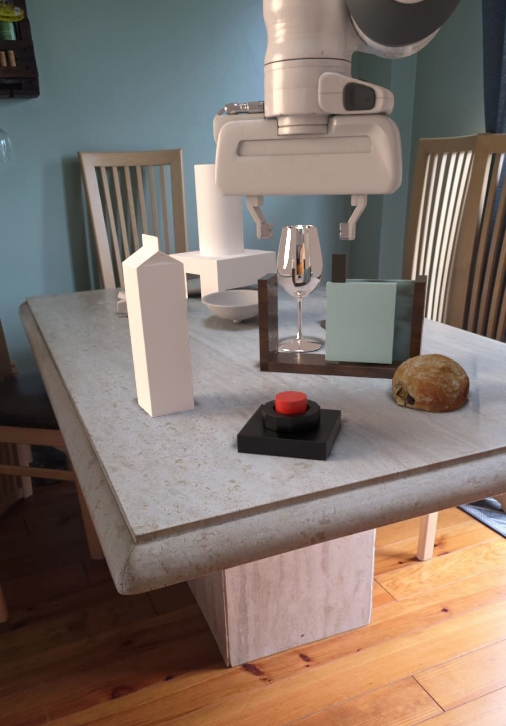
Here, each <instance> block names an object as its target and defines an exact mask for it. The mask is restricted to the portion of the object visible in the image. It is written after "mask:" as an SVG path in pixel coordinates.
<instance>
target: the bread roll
mask: <svg viewBox="0 0 506 726" xmlns="http://www.w3.org/2000/svg"><path fill="white" fill-rule="evenodd" d="M470 384H471V382H470V377H469V375H468V374H467V372H466V370H465V369H464V368H463V367H462V365H460V364H459V363H458V362H457V361H455V360H454V359H453V358H451V357H449V356H447V355H443V354H440V353H427V354H421V355H420V356H416V357H413V358H410V359H407V360H406V361H405V362H403V363H402V364H401V365H400V366H399V367H398V369H397V370H396V372H395V374H394V377H393V379H392V380H391V387H392V389H391V390H392V397H393V399H394V400H395V401H396V405H398V406H403V407H407V408H410V409H413V410H423V411H425V412H427V413H429V412H430V413H445V412H446V413H447V412H453V411H455V410H460V408H462V406H464V404H465V403H466V401H467V399H468V395H469V393H470Z"/></svg>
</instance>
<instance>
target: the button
mask: <svg viewBox="0 0 506 726" xmlns="http://www.w3.org/2000/svg"><path fill="white" fill-rule="evenodd" d="M307 399H308V395H307V394H306V393H305V392H301V391H298V390H297V391H296V390H295V391H294V390H286V391H282V392H281V391H280V392H279V393H276V394H275V396H274V400H275V411H276V412H279V413H282V414H298V413H303V412H305V411H307Z"/></svg>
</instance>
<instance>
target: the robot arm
mask: <svg viewBox="0 0 506 726" xmlns="http://www.w3.org/2000/svg"><path fill="white" fill-rule="evenodd" d="M460 2H461V0H262V17H263V22H264V25H265V29H266V40H267V41H266V50H265V54H264V58H263V93H264V94H263V100H259V101H258V100H257V101H248V102H242V103H238V102H229V103H227V104H225V105H224V107H223V108H221V109H218V111H217V113H216V114H215V116H214V118H213V123H212V127H213V139H214V143H215V145H216V147H215V158H214V160H215V161H214V164H215V187H216V189H217V190H218V192H219V193H220V194H221V195H222V196H242V197H245V199H246V209H247V211H248V212H249V215H250V216H251V218H252V220H253V222H254V223H255V224H256V238H257V240H272V239H273V238H274V231H273V229H274V222H273V221H267V219H266V217H265V216H264V214H263V212H262V210H261V207H262V206H264V201H265V200H264V197H269V196H271V197H273V196H339V195H340V196H343V195H344V196H346V195H347V196H348V195H350V196H351V197H350V199H351V200H350V205H351V207H355V209H354V210H353V212H352V214H351V215H350V217H349V219H348V221H342V222H340V223H339V231H340V233H339V240H340V241H354V240H355V239H356V230H357V229H356V226H357V222H358V221H359V219H360V217H362V216H361V215H362V214H363V212H364V210H365V208H366V207H367V205H368V195H392V194H394V193H396V192H397V190H399V188H401V186H402V183H403V182H402V181H403V150H402V149H403V148H402V140H401V139H402V138H401V133H400V129H399V127H398V125H397V123H396V122H395V121H394V120H393V119H392V118H390V117H389V115H391V114H393V110H394V107H395V96H394V93H393V92H392V91H391V90H390V89H388V88H386V87H384V86H381V85H378V84H374V83H371V82H369V81H368V80H366V79H363V78H358V79H357V78H354V77H352V56H353V54H354V53H359V54H365V55H371V56H376V57H379V58H383V59H389V60H398V59H403V58H407V57H410V56H412V55H414V54H416V53H418V52H420V51H421V50H423V48H425V47H426V46H427V45H428V44H429V43H430V42H431V41H432V40H433V39H434V38H435V36H436V35H437V33H438V32H439V31H440V29H441V28H442V26H443V25H444V24H445V23H446V22H447V21H448V20H449V19H450V17H451V16H452V15H453V13H454V12H455V11H456V9H457V8H458V6H459V4H460ZM224 113H225V115H224Z"/></svg>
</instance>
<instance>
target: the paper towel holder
mask: <svg viewBox="0 0 506 726" xmlns="http://www.w3.org/2000/svg"><path fill="white" fill-rule="evenodd" d="M193 168H194V182H195V183H194V184H195V185H194V186H195V199H196V200H195V201H196V214H197V229H198V244H199V245H198V246H199V250H193V251H186V252H178V253H171V254H170V253H169V254H168V255H169V256H171V257H173V258H175V259H176V260H178V261H180V262H182V263H183V264H184V277H185V290H186V300H187V299H188V297H189V296H188V295H189V294H188V283H187V281H191V280H197V279H200V281H199V282H200V294H201V299H202V298H203V297H204V296H206V295H208V294H211V293H215V292H220V291H227V290H234V289H238V288H243V289H244V288H245V287H249V286H254V285H258V279H260V278H261V277H263V276H265V275H266V274H268V273H276V269H277V252H276V251H272V250H264V249H263V250H262V249H252V248H245V245H244V244H245V243H244V242H245V241H244V239H245V238H244V216H243V212H244V211H243V196H222V195H221V194H220V193H219V192H218V190H217V189H216V187H215V163H209V164H205V163H204V164H194V165H193Z"/></svg>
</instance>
